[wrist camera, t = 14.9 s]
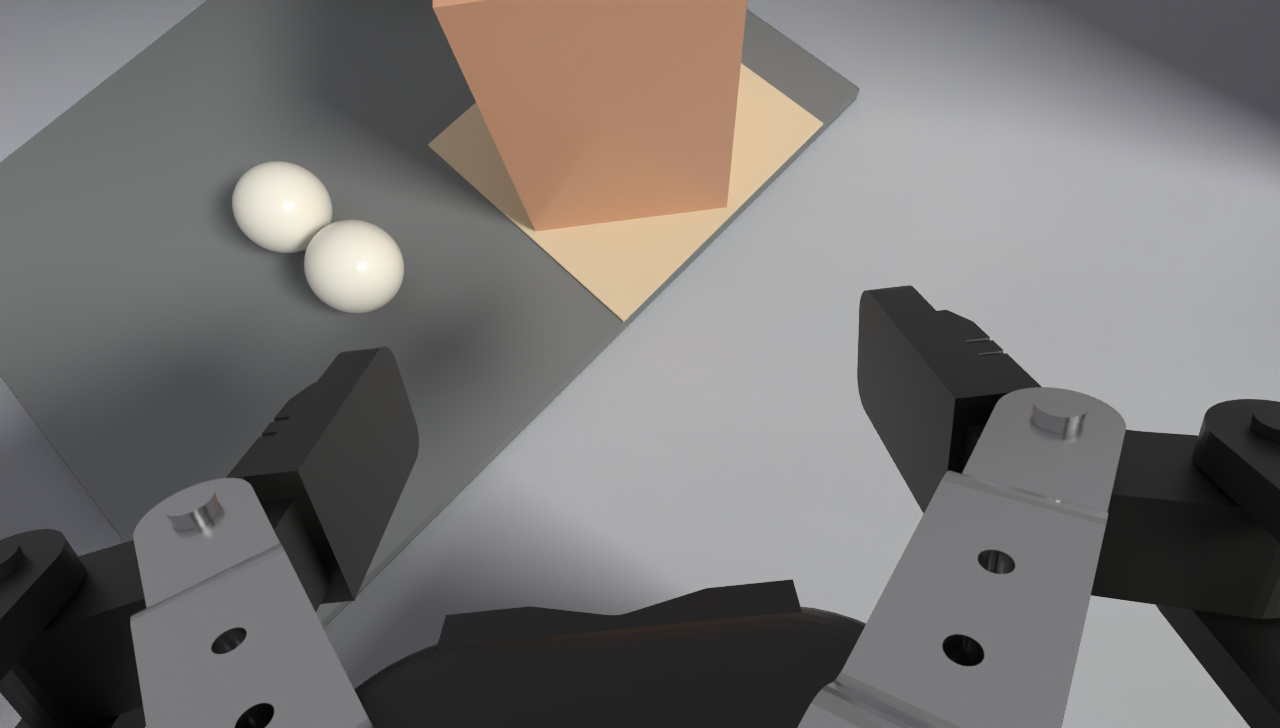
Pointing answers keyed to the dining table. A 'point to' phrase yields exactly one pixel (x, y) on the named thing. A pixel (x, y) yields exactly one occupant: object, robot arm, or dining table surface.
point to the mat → (275, 282)
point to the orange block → (605, 101)
